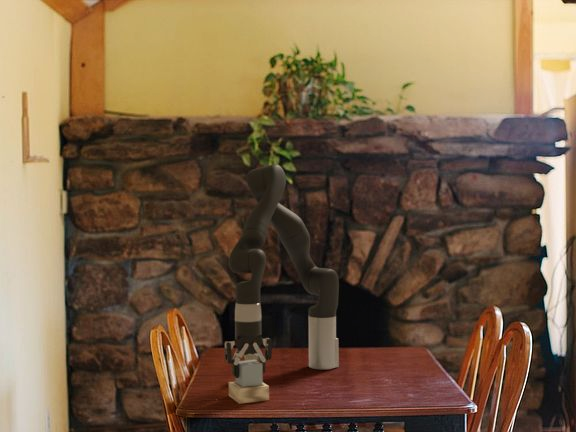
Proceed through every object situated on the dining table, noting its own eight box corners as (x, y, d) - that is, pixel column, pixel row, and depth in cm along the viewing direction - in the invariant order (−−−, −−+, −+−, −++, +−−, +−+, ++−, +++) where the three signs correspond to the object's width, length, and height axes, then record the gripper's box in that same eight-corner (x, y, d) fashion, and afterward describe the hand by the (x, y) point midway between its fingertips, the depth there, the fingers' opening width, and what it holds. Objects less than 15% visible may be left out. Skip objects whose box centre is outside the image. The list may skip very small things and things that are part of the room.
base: (258, 392, 226) (257, 378, 226) (269, 400, 218) (269, 385, 218) (228, 395, 223) (228, 381, 223) (239, 403, 214) (238, 388, 214)
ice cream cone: (261, 378, 243) (261, 331, 243) (255, 382, 239) (255, 334, 238) (246, 377, 245) (246, 330, 245) (240, 381, 240) (240, 333, 240)
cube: (255, 380, 224) (255, 359, 224) (262, 384, 219) (262, 363, 218) (235, 382, 222) (235, 361, 222) (242, 386, 216) (242, 365, 216)
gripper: (266, 315, 226) (267, 371, 226) (220, 318, 220) (220, 375, 221) (276, 318, 219) (276, 376, 220) (228, 322, 214) (228, 381, 214)
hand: (248, 376), depth 220 cm, fingers open, 7 cm apart
